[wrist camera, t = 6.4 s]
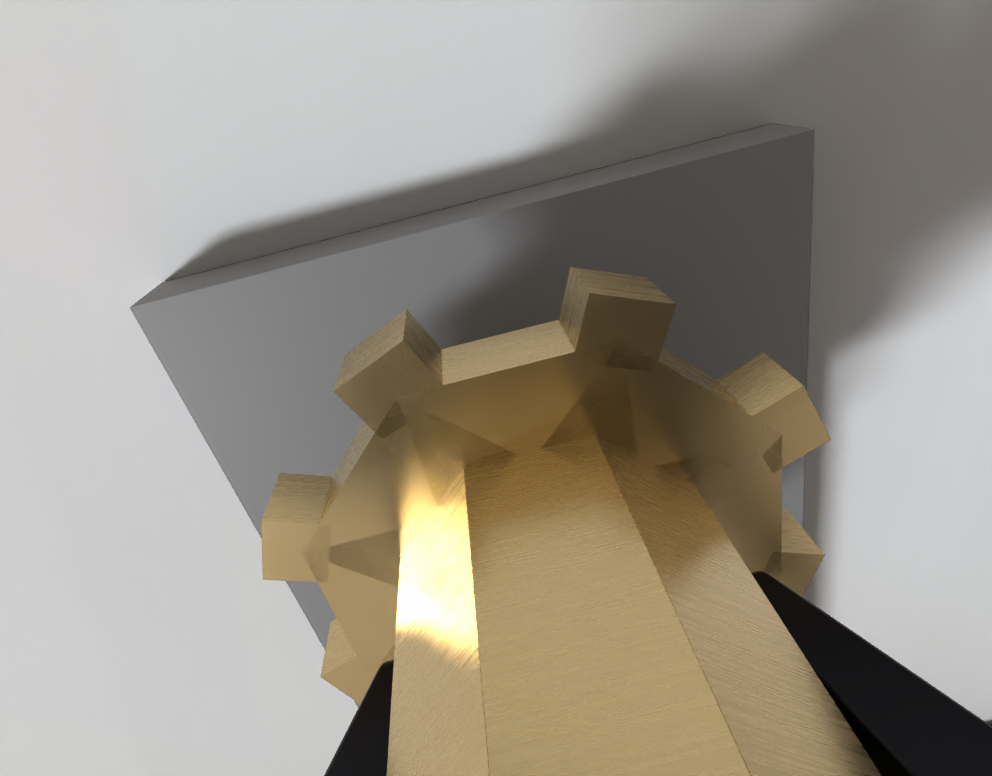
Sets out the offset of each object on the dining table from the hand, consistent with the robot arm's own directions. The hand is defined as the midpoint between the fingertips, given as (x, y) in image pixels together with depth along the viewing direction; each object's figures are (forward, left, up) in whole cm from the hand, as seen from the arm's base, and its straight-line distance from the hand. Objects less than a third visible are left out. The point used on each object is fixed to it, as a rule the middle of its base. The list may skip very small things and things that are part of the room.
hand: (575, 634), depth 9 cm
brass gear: (0, 0, -2) cm, 3 cm away
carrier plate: (0, +4, -7) cm, 8 cm away
